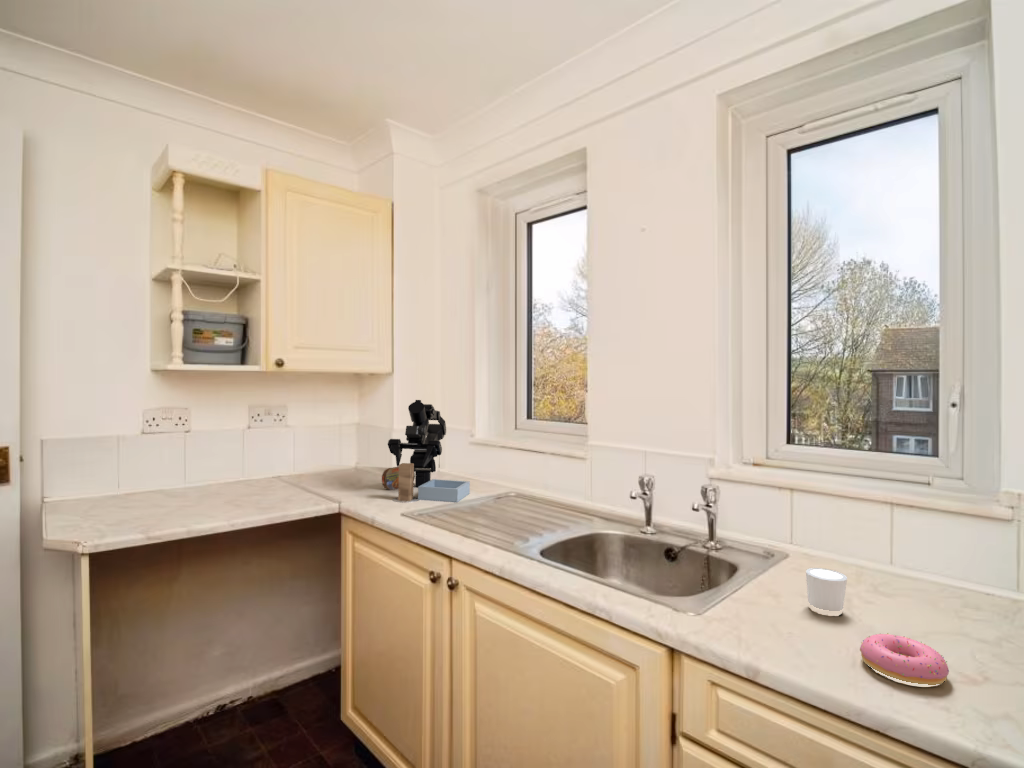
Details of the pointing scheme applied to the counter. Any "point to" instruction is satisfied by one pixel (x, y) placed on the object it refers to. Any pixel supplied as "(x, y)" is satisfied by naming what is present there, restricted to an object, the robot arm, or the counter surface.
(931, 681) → the doughnut
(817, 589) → the white cylinder
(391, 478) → the tin
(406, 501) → the base
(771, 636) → the counter surface
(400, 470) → the strut
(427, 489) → the bin
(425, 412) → the robot arm
